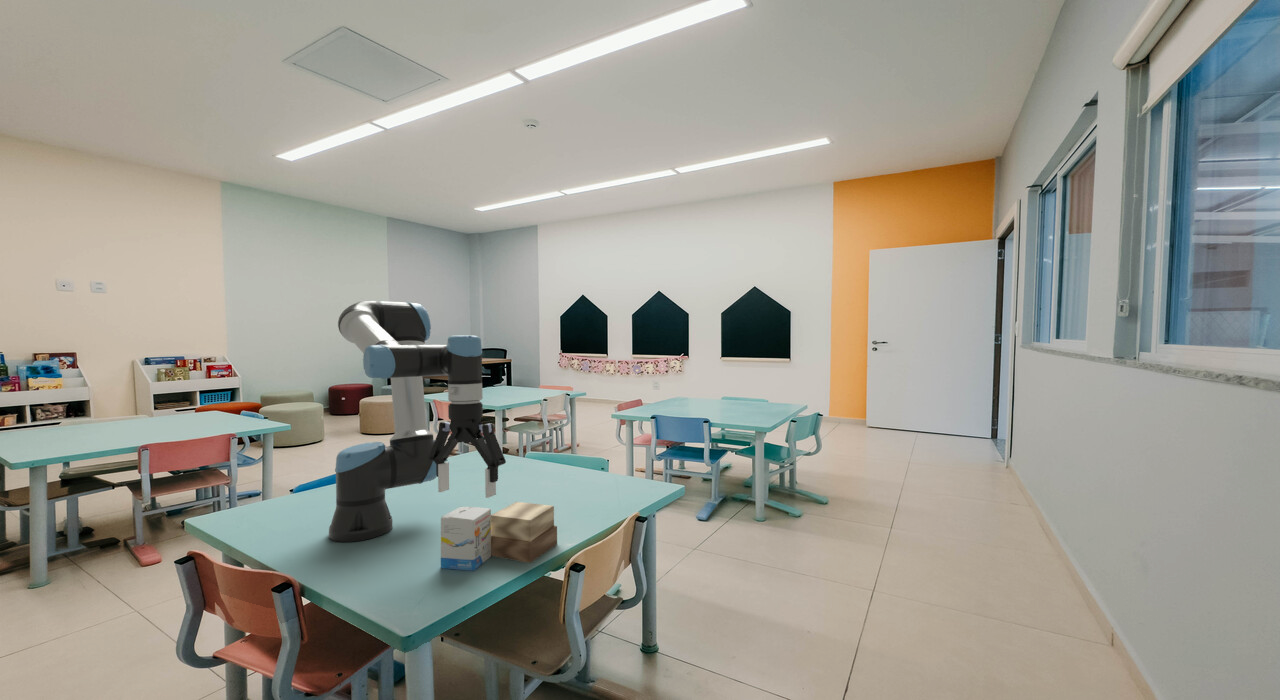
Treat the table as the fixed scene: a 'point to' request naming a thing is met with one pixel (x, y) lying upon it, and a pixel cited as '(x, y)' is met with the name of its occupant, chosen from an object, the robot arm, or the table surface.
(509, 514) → the tower top
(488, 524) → the ink box
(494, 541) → the tower base
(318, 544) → the table surface
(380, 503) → the robot arm
